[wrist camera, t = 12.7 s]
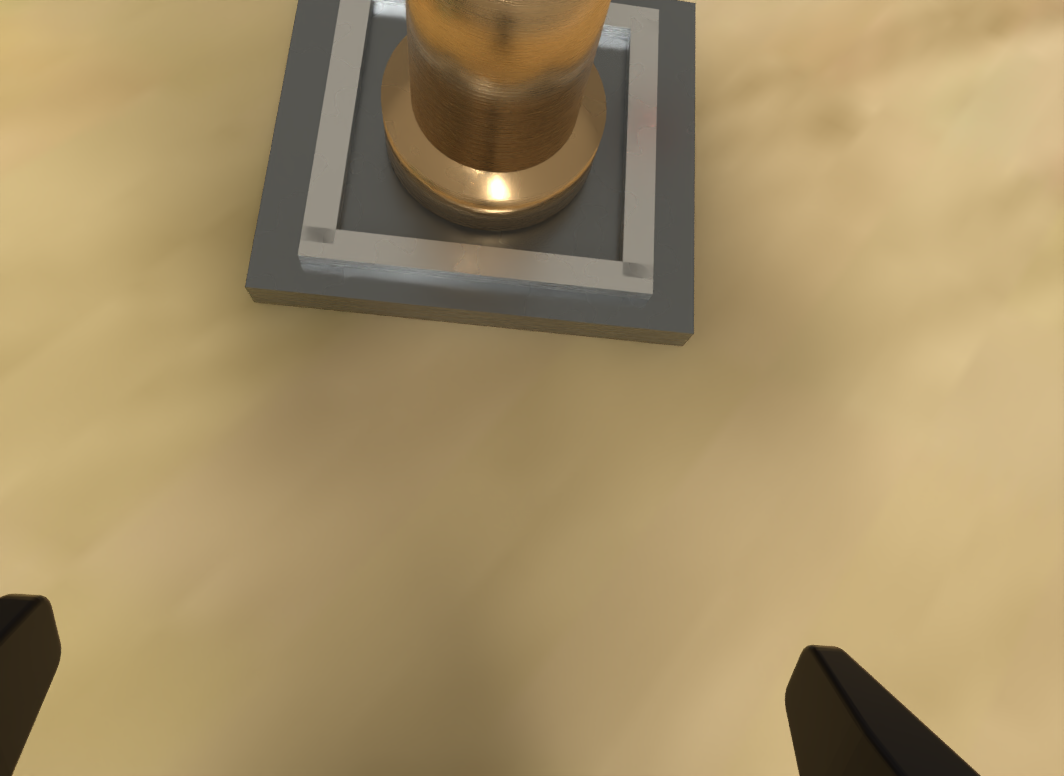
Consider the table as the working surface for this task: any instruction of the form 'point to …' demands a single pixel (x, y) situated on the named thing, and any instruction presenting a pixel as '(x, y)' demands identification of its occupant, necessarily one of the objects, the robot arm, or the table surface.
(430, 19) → the amber cylindrical piece
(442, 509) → the table surface
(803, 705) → the robot arm
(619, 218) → the press bed
